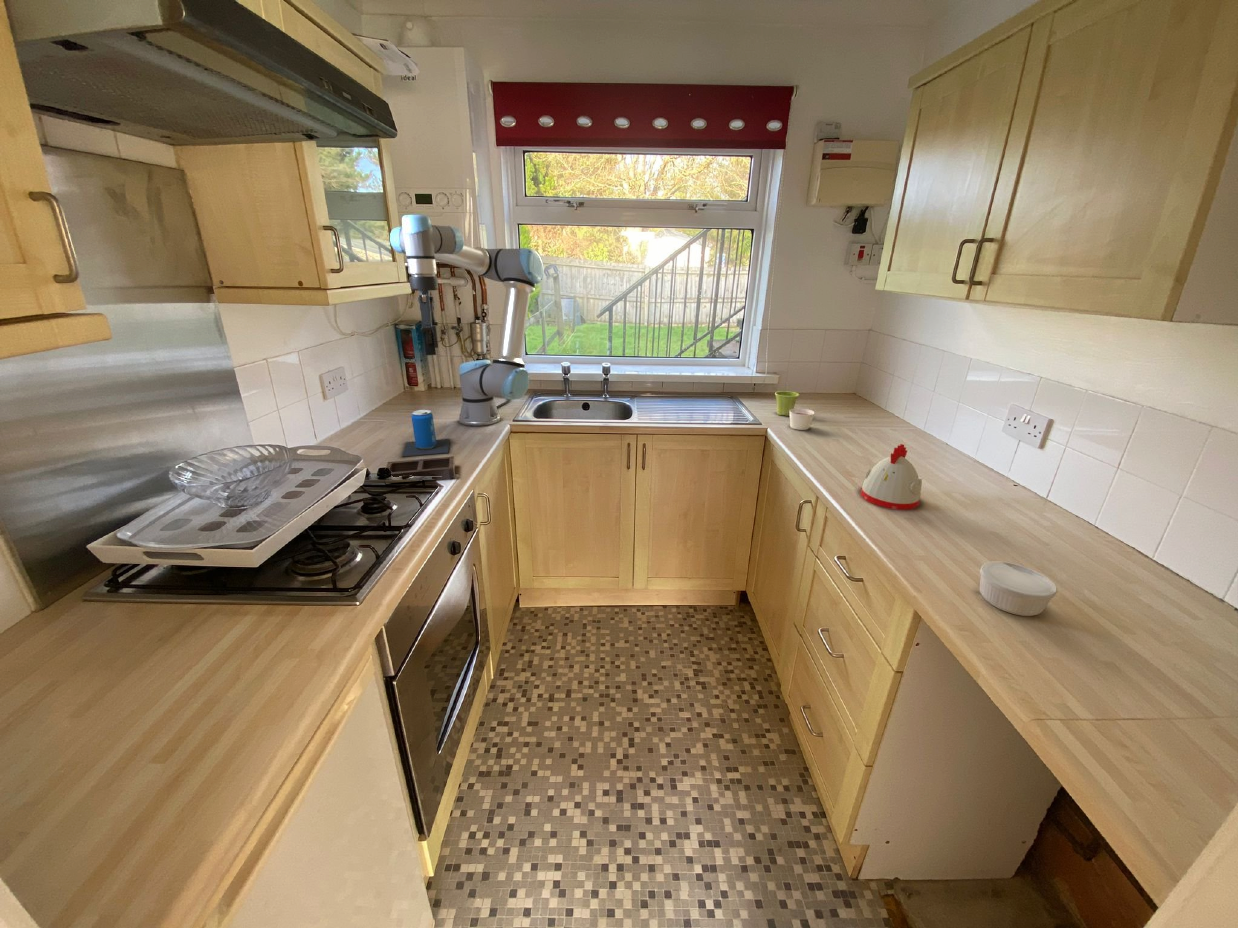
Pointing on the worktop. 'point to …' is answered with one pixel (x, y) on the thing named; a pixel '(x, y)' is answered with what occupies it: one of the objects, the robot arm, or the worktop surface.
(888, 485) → the kitchen timer
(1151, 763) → the worktop surface
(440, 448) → the mat
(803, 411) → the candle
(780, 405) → the plant pot
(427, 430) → the beverage can
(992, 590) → the ramekin
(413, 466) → the can caddy
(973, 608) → the worktop surface
